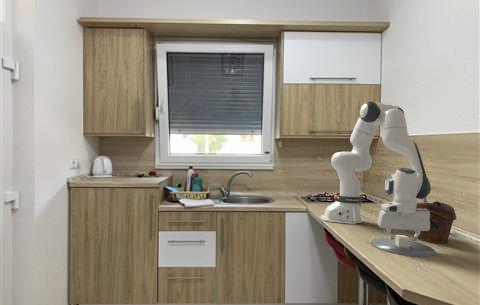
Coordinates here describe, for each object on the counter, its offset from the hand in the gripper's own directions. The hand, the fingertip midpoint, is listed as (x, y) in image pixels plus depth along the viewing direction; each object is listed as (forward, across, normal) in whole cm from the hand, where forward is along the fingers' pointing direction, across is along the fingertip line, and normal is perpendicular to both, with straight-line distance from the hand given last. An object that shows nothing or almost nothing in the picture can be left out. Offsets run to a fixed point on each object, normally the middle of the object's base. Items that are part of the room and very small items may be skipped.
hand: (402, 240), depth 139 cm
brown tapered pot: (+3, -20, -17) cm, 27 cm away
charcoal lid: (+4, 0, 0) cm, 4 cm away
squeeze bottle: (+3, -26, -38) cm, 46 cm away
